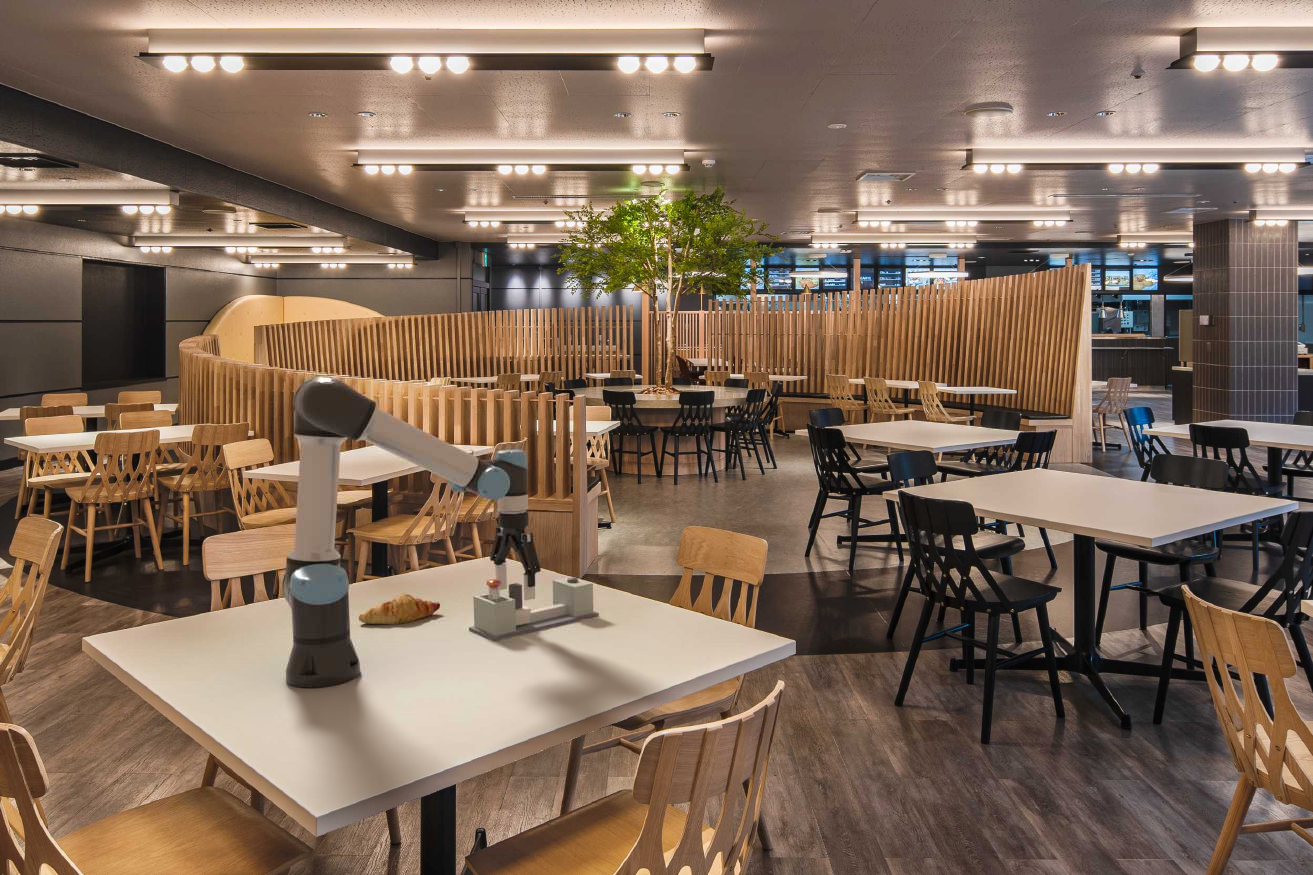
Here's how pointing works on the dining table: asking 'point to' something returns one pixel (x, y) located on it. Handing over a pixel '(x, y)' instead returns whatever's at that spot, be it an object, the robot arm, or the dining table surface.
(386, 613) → the croissant
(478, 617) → the rail fixture
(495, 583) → the ball
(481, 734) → the dining table surface
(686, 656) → the dining table surface
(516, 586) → the block
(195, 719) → the dining table surface
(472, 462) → the robot arm
